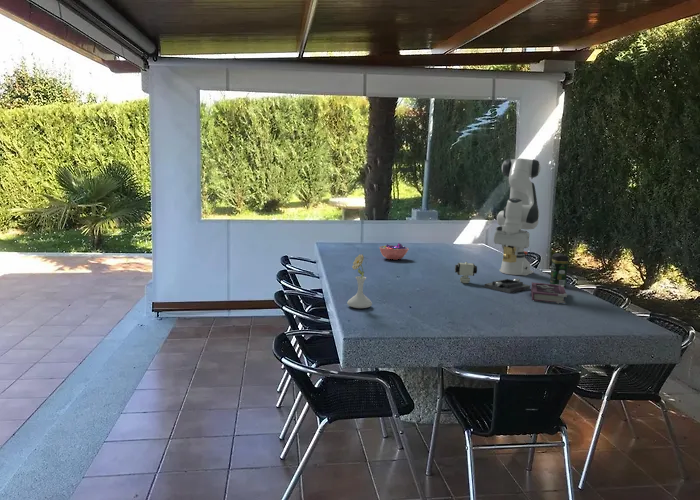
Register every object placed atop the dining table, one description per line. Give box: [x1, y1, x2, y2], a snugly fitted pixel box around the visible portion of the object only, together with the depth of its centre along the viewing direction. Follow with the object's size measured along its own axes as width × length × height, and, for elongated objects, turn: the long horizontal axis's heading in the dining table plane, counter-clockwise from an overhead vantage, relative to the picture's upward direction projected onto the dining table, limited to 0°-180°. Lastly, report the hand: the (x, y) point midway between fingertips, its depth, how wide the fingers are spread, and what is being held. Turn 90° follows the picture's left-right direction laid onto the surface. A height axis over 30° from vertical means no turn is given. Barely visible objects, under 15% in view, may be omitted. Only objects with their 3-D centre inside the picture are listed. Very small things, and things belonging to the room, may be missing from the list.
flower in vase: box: [346, 253, 373, 309], centre depth 260 cm, size 13×11×25 cm
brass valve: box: [502, 246, 517, 263], centre depth 313 cm, size 9×5×11 cm, turn 131°
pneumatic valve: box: [454, 261, 478, 284], centre depth 326 cm, size 6×12×12 cm, turn 87°
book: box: [530, 281, 568, 304], centre depth 299 cm, size 25×16×5 cm, turn 164°
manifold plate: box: [483, 277, 532, 294], centre depth 316 cm, size 20×16×4 cm
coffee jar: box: [549, 252, 569, 288], centre depth 327 cm, size 10×8×19 cm
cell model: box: [379, 242, 410, 261], centre depth 392 cm, size 17×20×11 cm
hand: (510, 254), depth 313 cm, fingers closed on brass valve, 5 cm apart
